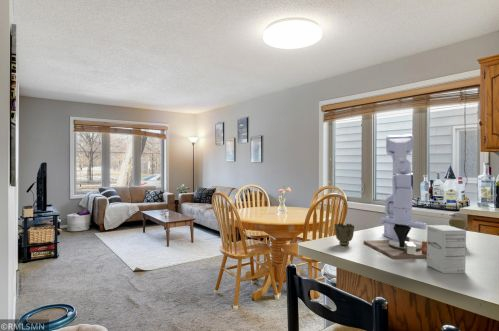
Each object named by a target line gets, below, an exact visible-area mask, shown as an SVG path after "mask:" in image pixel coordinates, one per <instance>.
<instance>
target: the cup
mask: <svg viewBox="0 0 499 331" xmlns="http://www.w3.org/2000/svg"><path fill="white" fill-rule="evenodd" d="M333 225H334V232H335V238H336V240H337V241H339V242H338V243H339V245H340V246H342V247H343V246H344V247H347V246H349V245H350V242H351V241H352V240H353V238H354V234H355V233H354V232H355V225H354V224H352V223H346V224H344V223H342V222H338V223H335V224H333Z"/></svg>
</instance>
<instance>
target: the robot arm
mask: <svg viewBox="0 0 499 331" xmlns="http://www.w3.org/2000/svg"><path fill="white" fill-rule="evenodd" d="M385 149H386V155H389V156H391V159H392V183H391V184H392V185H391V186H392V192H391V193H390V194H389V195H387V196H386V198H385V203H384V206H385V207H384V211H385V212H384V213H385V215H386V216H385V217H380V224H383V233H382V234H381V235H383V236H385V237H387V238H389V239H391V240H395V239H398V240H399V246H400V247H404V246H405V240H406V237H409V239H413V238H412V237H410V236H408V234H409V233H410V231H411V229H412V228H413V229H418V230H422V231H423V230H424V231H425V230H427V222H420V221H416V220H415V221H414V220H413V215H412V214H413V191H414V187H415V177H414V174H413V171H412V167H411V162H410V160H409V159H407V156H408V155H411V153H412V152H413V149H414V135H412V134H403V135H401V134H399V135H398V134H397V135H386V139H385Z"/></svg>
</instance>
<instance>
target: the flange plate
mask: <svg viewBox="0 0 499 331" xmlns="http://www.w3.org/2000/svg"><path fill="white" fill-rule="evenodd" d="M389 240H390V241H389V245H390V246H392V247H394V248H398V249H404V250H405V252H406V253H407V254H414V255H416V250H420V249H422V244H420V243H418V242H415V241H410V240H409V242H406V241H405V246H404V247H400V246H399V240H398V239H395V240H394V239H389Z"/></svg>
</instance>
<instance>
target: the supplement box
mask: <svg viewBox="0 0 499 331" xmlns="http://www.w3.org/2000/svg"><path fill="white" fill-rule="evenodd" d="M426 233H427V235H426V241H427V258H426V265H427V267H431V268H433V269H434V270H436V271H438V272H440V273H441V274H466V253H467V230H465V229H464V230H462V229H459V228H455V227H452V226H450V225H449V224H448V225H447V224H446V225H445V224H444V225H443V224H442V225H441V224H440V225H439V224H434V225H426Z"/></svg>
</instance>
